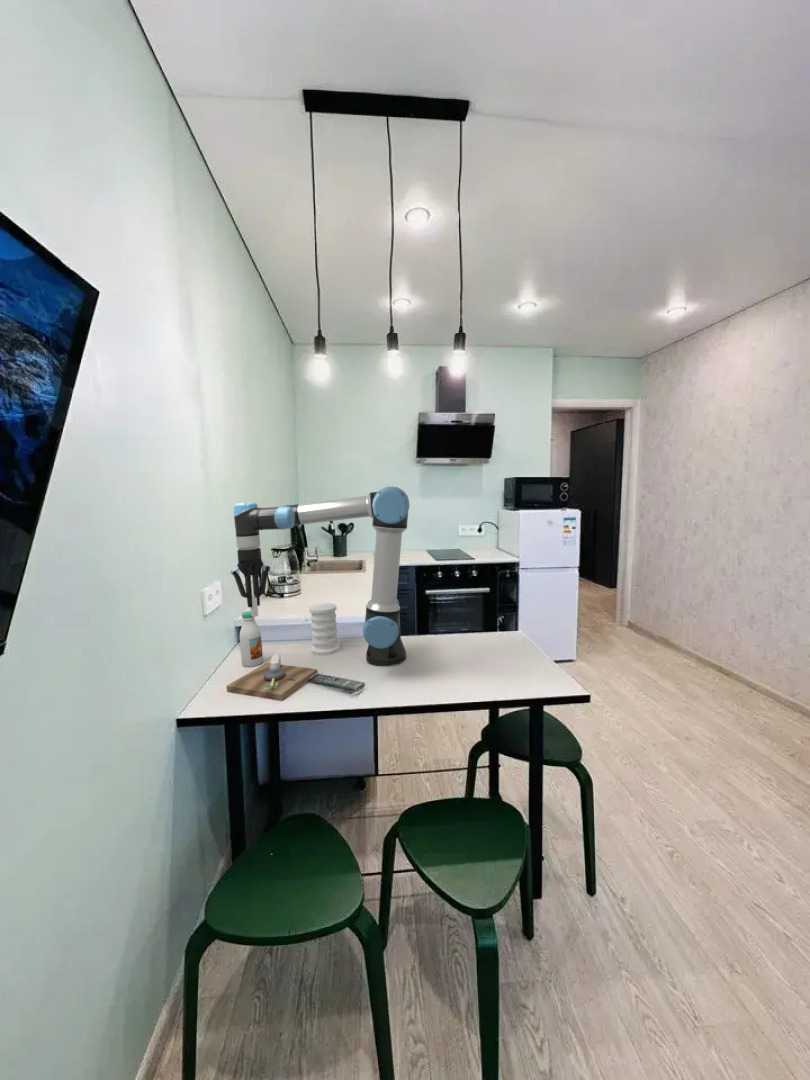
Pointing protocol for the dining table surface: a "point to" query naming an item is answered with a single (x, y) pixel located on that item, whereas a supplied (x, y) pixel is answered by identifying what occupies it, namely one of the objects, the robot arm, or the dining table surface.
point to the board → (261, 687)
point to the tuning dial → (274, 670)
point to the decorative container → (324, 629)
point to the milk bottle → (250, 641)
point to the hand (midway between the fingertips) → (254, 615)
